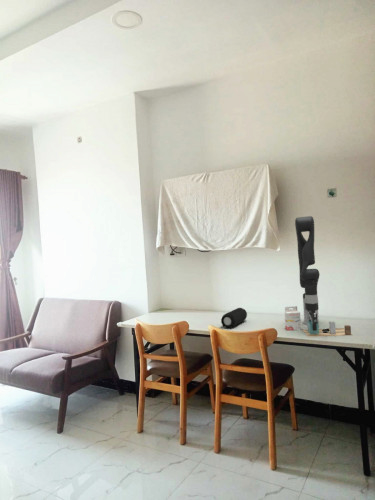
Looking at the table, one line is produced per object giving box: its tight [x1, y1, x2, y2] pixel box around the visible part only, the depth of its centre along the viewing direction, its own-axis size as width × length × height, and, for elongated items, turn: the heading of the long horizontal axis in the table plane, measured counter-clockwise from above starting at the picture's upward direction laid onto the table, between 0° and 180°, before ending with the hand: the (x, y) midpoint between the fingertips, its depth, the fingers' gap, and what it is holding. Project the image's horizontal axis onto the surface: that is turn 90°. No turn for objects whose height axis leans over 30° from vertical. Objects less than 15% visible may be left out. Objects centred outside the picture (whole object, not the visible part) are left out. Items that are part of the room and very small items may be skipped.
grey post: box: [328, 321, 336, 335], centre depth 209 cm, size 3×3×7 cm
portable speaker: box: [220, 307, 248, 329], centre depth 249 cm, size 26×10×10 cm, turn 148°
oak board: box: [302, 327, 353, 338], centre depth 213 cm, size 16×25×1 cm, turn 85°
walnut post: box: [343, 324, 352, 336], centre depth 206 cm, size 3×3×5 cm
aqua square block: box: [307, 321, 320, 334], centre depth 214 cm, size 5×5×7 cm
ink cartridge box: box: [284, 305, 302, 332], centre depth 225 cm, size 9×5×15 cm, turn 92°
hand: (312, 328), depth 213 cm, fingers open, 8 cm apart
